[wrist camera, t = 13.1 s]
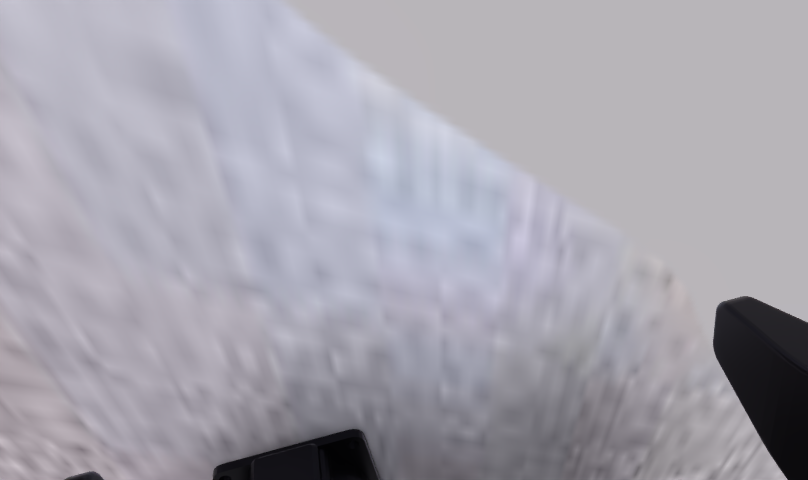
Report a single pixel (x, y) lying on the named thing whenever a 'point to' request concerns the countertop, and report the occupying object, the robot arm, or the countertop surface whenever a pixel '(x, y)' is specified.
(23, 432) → the countertop surface
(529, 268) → the countertop surface
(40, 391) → the countertop surface
